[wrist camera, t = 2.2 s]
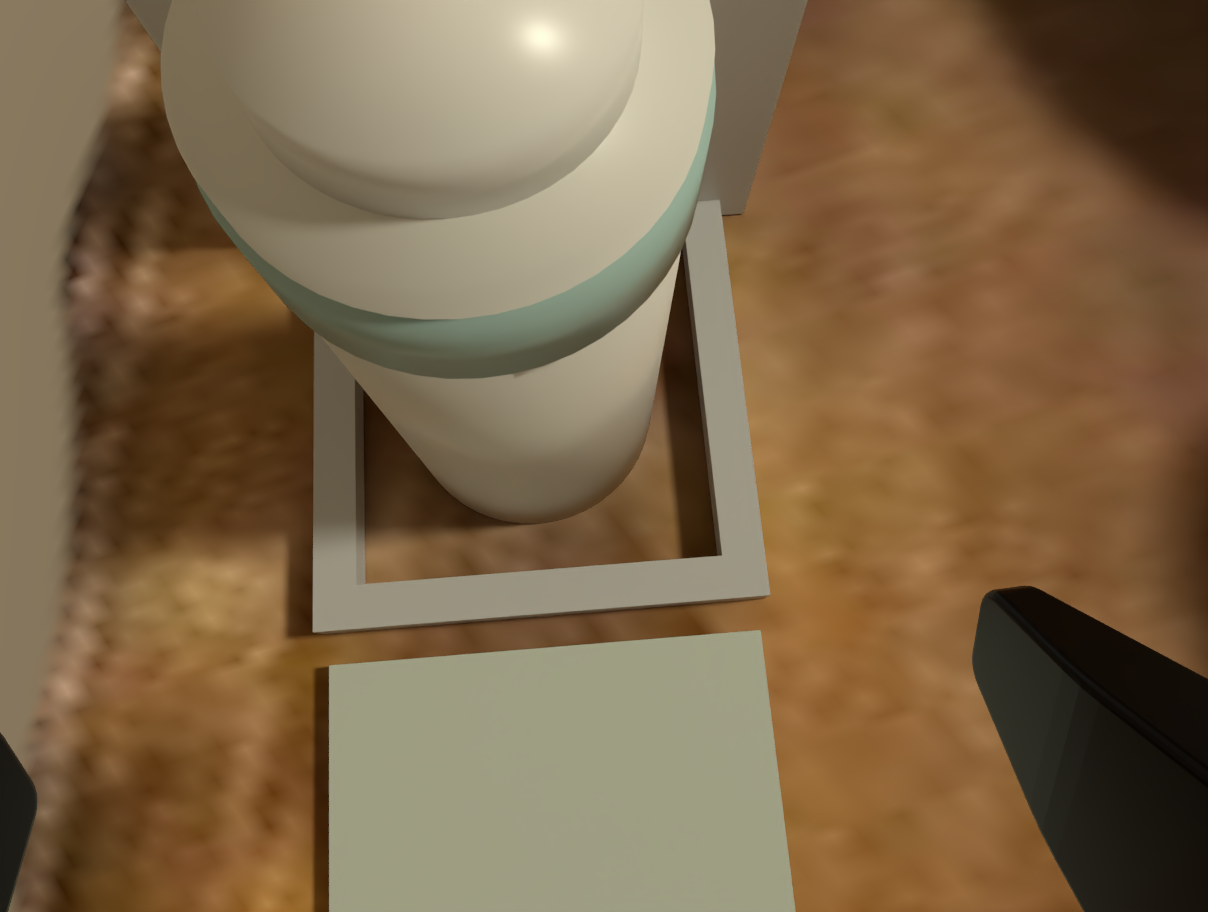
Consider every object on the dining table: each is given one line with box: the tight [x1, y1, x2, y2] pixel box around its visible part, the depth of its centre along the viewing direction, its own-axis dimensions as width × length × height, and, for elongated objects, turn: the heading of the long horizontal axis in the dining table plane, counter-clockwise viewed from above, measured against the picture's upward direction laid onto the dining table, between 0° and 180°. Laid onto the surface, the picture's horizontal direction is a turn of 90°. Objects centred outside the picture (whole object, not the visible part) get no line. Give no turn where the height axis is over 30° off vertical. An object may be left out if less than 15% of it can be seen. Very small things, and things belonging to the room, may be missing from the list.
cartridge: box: [161, 0, 716, 524], centre depth 15 cm, size 6×6×14 cm
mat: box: [329, 630, 795, 912], centre depth 19 cm, size 10×10×1 cm
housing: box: [125, 0, 808, 634], centre depth 17 cm, size 15×12×11 cm
